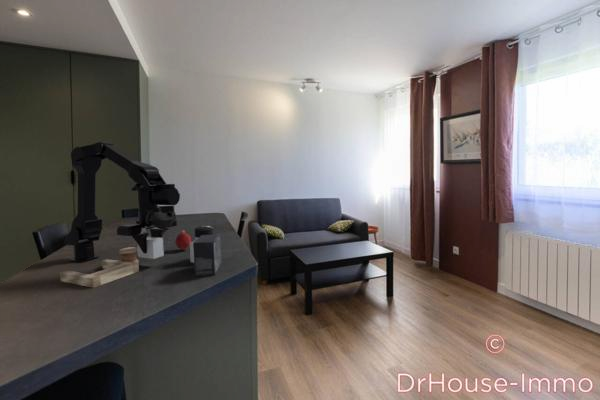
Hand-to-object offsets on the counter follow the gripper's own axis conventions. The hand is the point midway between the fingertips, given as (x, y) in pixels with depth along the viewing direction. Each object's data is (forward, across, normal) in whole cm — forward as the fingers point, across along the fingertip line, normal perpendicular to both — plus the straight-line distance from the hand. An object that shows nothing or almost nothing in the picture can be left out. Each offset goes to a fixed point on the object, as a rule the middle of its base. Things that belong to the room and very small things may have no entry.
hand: (150, 251), depth 97 cm
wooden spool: (+5, -1, +9) cm, 10 cm away
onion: (+5, +19, +4) cm, 20 cm away
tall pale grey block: (+2, 0, 0) cm, 2 cm away
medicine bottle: (+5, +11, -13) cm, 18 cm away
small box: (+5, +3, -21) cm, 22 cm away
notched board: (+5, -12, +6) cm, 15 cm away
